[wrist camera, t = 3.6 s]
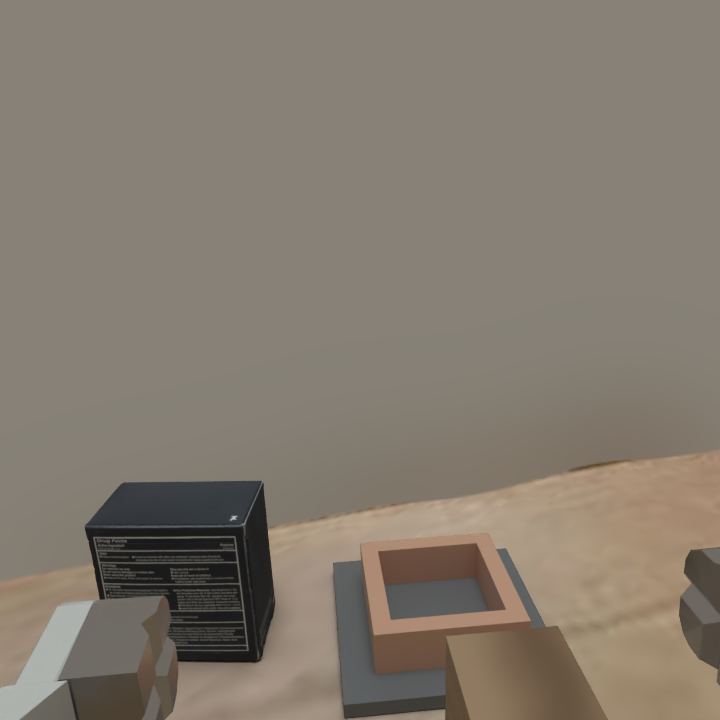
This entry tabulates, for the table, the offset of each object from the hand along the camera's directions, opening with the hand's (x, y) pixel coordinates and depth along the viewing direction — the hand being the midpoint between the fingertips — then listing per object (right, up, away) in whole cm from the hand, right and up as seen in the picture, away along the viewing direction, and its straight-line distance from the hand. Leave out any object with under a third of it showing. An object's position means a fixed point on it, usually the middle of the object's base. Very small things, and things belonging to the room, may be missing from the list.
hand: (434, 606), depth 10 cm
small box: (-13, -16, +37) cm, 42 cm away
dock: (+4, -15, +36) cm, 39 cm away
